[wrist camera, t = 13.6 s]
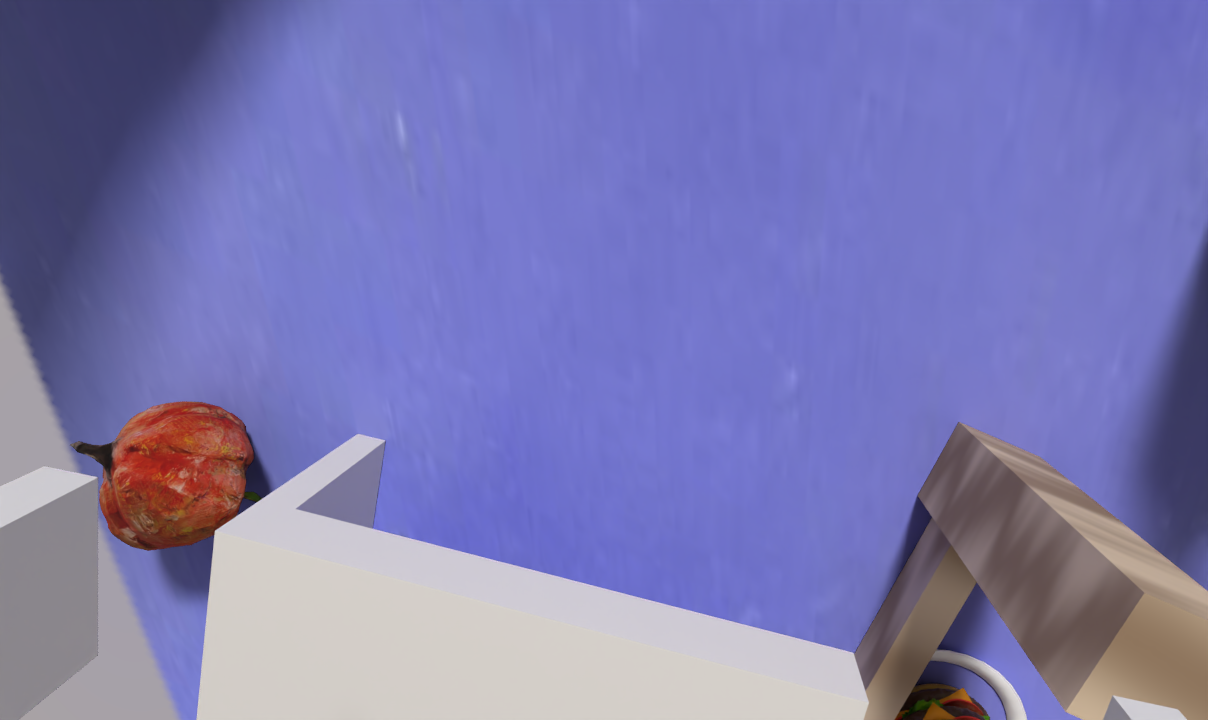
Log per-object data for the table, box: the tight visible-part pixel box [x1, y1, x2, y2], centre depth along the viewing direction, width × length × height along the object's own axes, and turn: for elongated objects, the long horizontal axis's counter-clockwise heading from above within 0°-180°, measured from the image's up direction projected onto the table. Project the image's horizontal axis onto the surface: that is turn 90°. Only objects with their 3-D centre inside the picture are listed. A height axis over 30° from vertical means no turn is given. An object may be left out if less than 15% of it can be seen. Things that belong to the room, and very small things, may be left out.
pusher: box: [854, 422, 1208, 720], centre depth 30 cm, size 18×4×16 cm, turn 157°
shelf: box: [197, 434, 869, 720], centre depth 35 cm, size 16×24×12 cm, turn 78°
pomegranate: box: [71, 402, 263, 551], centre depth 39 cm, size 7×7×10 cm
